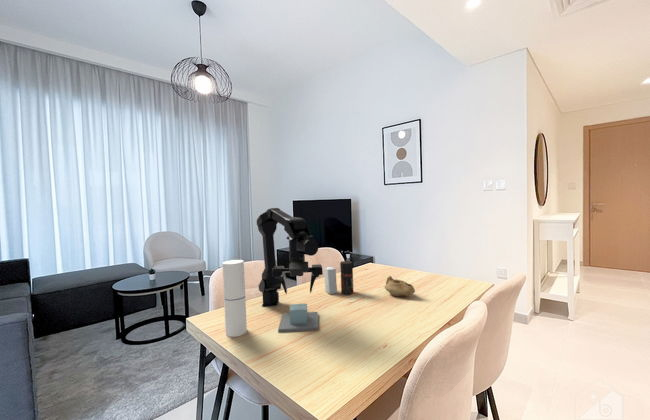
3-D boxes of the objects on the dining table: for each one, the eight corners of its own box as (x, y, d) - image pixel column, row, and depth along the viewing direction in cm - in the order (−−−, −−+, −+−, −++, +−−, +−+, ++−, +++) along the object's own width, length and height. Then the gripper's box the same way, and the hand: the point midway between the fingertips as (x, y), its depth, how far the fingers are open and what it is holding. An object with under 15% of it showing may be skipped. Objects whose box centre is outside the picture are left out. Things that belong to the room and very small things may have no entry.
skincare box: (337, 293, 139) (336, 268, 139) (328, 294, 138) (328, 269, 137) (332, 289, 145) (332, 266, 145) (324, 291, 144) (323, 267, 143)
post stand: (278, 332, 100) (277, 319, 100) (282, 316, 114) (282, 304, 114) (318, 330, 100) (317, 317, 100) (317, 314, 114) (317, 302, 114)
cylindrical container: (227, 338, 96) (224, 265, 96) (224, 330, 103) (221, 261, 102) (248, 333, 100) (245, 262, 99) (244, 325, 106) (241, 259, 105)
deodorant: (352, 294, 136) (351, 263, 136) (340, 294, 138) (339, 263, 137) (354, 291, 142) (353, 261, 142) (342, 290, 143) (341, 261, 143)
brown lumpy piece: (411, 301, 125) (410, 283, 125) (380, 295, 134) (379, 278, 134) (420, 294, 133) (419, 277, 133) (390, 289, 143) (389, 273, 142)
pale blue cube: (290, 324, 104) (289, 310, 104) (291, 317, 110) (290, 304, 110) (307, 323, 104) (306, 309, 104) (307, 316, 110) (307, 303, 110)
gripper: (268, 257, 99) (270, 301, 100) (322, 255, 100) (323, 299, 100) (273, 251, 110) (274, 291, 111) (321, 249, 111) (322, 289, 111)
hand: (298, 292), depth 108 cm, fingers open, 9 cm apart
